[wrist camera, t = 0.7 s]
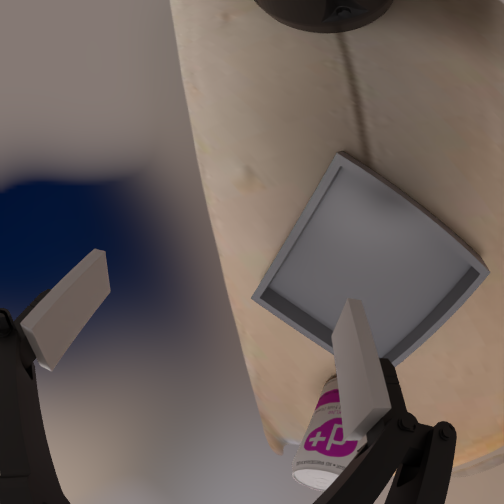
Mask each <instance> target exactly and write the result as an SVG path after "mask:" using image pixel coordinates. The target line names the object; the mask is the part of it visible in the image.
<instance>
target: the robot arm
mask: <svg viewBox="0 0 504 504" xmlns="http://www.w3.org/2000/svg"><path fill="white" fill-rule="evenodd" d="M254 1H255V2H256V3H257V4H258V5H259V6H260V7H261V8H262V9H263V10H264V11H266V12H267V13H268V14H269V15H270V16H272V17H273V18H274V19H276V20H278V21H279V22H281V23H283V24H285V25H287V26H290V27H293V28H296V29H299V30H303V31H309V32H318V33H335V32H343V31H349V30H353V29H356V28H360V27H362V26H365V25H367V24H369V23H371V22H373V21H374V20H376V19H378V18H379V17H380V16H381V15H383V14H384V13H385V12H386V11H387V10H388V8H389V7H390V6H391V4H392V2H393V0H254ZM109 293H110V285H109V278H108V271H107V264H106V254H105V251H101V250H97V249H94V250H93V251H92V252H91V253H89V254H88V255H87V256H86V257H85V258H84V259H83V260H82V261H81V262H80V263H79V264H77V265H76V266H75V267H74V268H73V269H72V270H71V271H70V272H69V273H68V274H67V275H66V276H65V277H64V278H63V279H62V280H61V281H60V282H59V283H58V284H57V285H56V286H55V287H54V288H53V289H52V290H50V289H47V290H46V291H44V292H42V293H40V294H39V295H38V296H37V298H35V300H34V301H33V302H32V303H31V304H30V306H28V307H27V308H26V309H25V310H24V311H23V312H22V313H21V314H20V315H19V316H18V317H17V319H16V320H15V321H14V322H13V319H12V317H11V314H10V312H9V311H8V310H7V309H4V308H0V504H70V502H69V501H68V499H67V498H66V497H65V496H64V494H63V492H62V490H61V487H60V484H59V481H58V478H57V475H56V472H55V469H54V465H53V462H52V458H51V455H50V451H49V447H48V443H47V440H46V435H45V430H44V425H43V420H42V415H41V410H40V404H39V397H38V390H37V382H36V373H35V366H34V363H33V361H34V360H35V359H36V358H37V360H38V362H39V364H40V366H42V367H44V368H46V369H48V370H50V371H52V370H53V369H54V367H55V366H56V364H57V363H58V362H59V360H60V359H61V357H62V356H63V354H64V353H65V351H66V350H67V349H68V347H69V346H70V344H71V343H72V342H73V340H74V339H75V337H76V336H77V335H78V333H79V332H80V331H81V329H82V328H83V327H84V325H85V324H86V323H87V321H88V320H89V319H90V317H91V316H92V315H93V313H94V312H95V311H96V309H97V308H98V307H99V306H100V304H101V303H102V302H103V300H104V299H105V298H106V297H107V295H108V294H109ZM331 338H332V344H333V351H334V358H335V365H336V373H337V381H338V389H339V397H340V406H341V416H342V426H343V437H344V441H352V440H361V439H362V438H363V437H364V436H365V435H366V437H367V442H366V443H365V444H364V445H363V446H362V447H361V448H360V449H359V450H357V452H358V453H357V454H356V456H355V457H354V458H353V459H352V461H351V462H350V463H349V464H348V466H347V467H346V468H345V469H344V470H343V471H342V473H341V474H340V475H339V476H338V477H337V478H336V480H335V481H334V482H333V483H332V484H331V485H330V486H329V487H328V488H327V489H326V490H325V492H324V493H323V494H322V495H321V496H320V497H319V498H318V499H317V500H316V501H315V502H314V503H313V504H373V503H374V502H375V500H376V499H377V498H378V496H379V495H380V493H381V492H382V490H383V489H384V488H385V486H386V485H387V483H388V482H389V480H390V478H391V477H392V476H393V474H394V472H395V471H396V474H395V476H394V479H393V482H392V485H391V488H390V491H389V493H388V496H387V498H386V501H385V504H444V503H445V499H446V495H447V491H448V486H449V482H450V477H451V472H452V466H453V460H454V453H455V446H456V438H457V436H456V431H455V428H454V427H453V426H452V425H451V424H450V423H448V422H445V421H441V422H438V423H437V424H436V425H435V426H434V427H432V426H428V425H424V424H420V423H418V421H417V419H416V417H414V416H413V415H412V414H411V413H409V412H407V410H406V406H405V402H404V398H403V395H402V391H401V388H400V385H399V381H398V378H397V374H396V371H395V367H394V366H393V364H392V363H391V362H390V360H389V359H388V358H379V357H378V353H377V350H376V346H375V343H374V340H373V336H372V333H371V330H370V327H369V323H368V320H367V317H366V314H365V311H364V308H363V305H362V302H361V300H357V299H351V298H347V301H346V303H345V306H344V308H343V310H342V313H341V315H340V317H339V320H338V322H337V324H336V327H335V329H334V331H333V333H332V336H331ZM396 469H397V470H396Z"/></svg>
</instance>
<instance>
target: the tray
mask: <svg viewBox="0 0 504 504" xmlns="http://www.w3.org/2000/svg"><path fill="white" fill-rule="evenodd" d="M489 274H490V271H489V269H488V268H487V266H486V264H485V263H484V261H483V260H482V258H481V257H480V256H479V255H478V254H477V253H476V252H475V251H474V250H473V249H472V248H471V247H470V246H468V245H467V244H466V243H465V242H464V241H463V240H462V239H461V238H460V237H458V236H457V235H456V234H455V233H454V232H453V231H452V230H450V229H449V228H448V227H447V226H446V225H445V224H443V223H442V222H441V221H440V220H439V219H437V218H436V217H435V216H434V215H433V214H431V213H430V212H429V211H428V210H426V209H425V208H424V207H422V206H421V205H420V204H419V203H417V202H416V201H415V200H413V199H412V198H411V197H409V196H408V195H407V194H405V193H404V192H403V191H401V190H400V189H399V188H397V187H396V186H394V185H393V184H392V183H390V182H389V181H387V180H386V179H385V178H383V177H382V176H380V175H379V174H377V173H376V172H374V171H373V170H371V169H370V168H368V167H367V166H365V165H364V164H362V163H361V162H359V161H358V160H356V159H354V158H353V157H351V156H350V155H348V154H347V153H345V152H343V151H341V152H338V153H336V155H335V157H334V159H333V160H332V162H331V164H330V166H329V167H328V169H327V171H326V173H325V174H324V176H323V178H322V180H321V181H320V183H319V185H318V187H317V188H316V190H315V192H314V193H313V195H312V197H311V199H310V200H309V202H308V204H307V205H306V207H305V209H304V211H303V212H302V214H301V216H300V217H299V219H298V221H297V222H296V224H295V226H294V228H293V229H292V231H291V233H290V234H289V236H288V238H287V239H286V241H285V243H284V244H283V246H282V248H281V249H280V251H279V253H278V254H277V256H276V258H275V259H274V261H273V263H272V264H271V266H270V268H269V269H268V271H267V273H266V274H265V276H264V278H263V279H262V281H261V283H260V284H259V286H258V288H257V289H256V291H255V292H254V294H253V296H252V297H251V299H252V300H254V301H255V302H257V303H258V304H259V305H261V306H262V307H264V308H265V309H267V310H268V311H269V312H271V313H272V314H274V315H275V316H277V317H278V318H280V319H281V320H282V321H284V322H285V323H287V324H288V325H290V326H291V327H293V328H294V329H296V330H297V331H299V332H300V333H302V334H303V335H304V336H306V337H307V338H309V339H310V340H312V341H313V342H315V343H316V344H318V345H319V346H321V347H322V348H324V349H325V350H327V351H329V352H330V353H332V354H333V355H334V351H333V344H332V338H331V336H332V333H333V331H334V329H335V327H336V324H337V322H338V320H339V317H340V315H341V313H342V310H343V308H344V306H345V303H346V301H347V298H351V299H357V300H361V302H362V305H363V308H364V311H365V314H366V317H367V320H368V323H369V327H370V330H371V333H372V336H373V340H374V343H375V346H376V350H377V353H378V357H379V358H388V359H389V360H390V362H391V363H392V364H393V366H394V367H396V366H397V365H398V364H400V363H401V362H402V361H403V360H404V359H406V358H407V357H408V356H409V355H410V354H412V353H413V352H414V351H415V350H416V349H417V348H418V347H420V346H421V345H422V344H423V343H424V342H425V341H426V340H427V339H428V338H429V337H431V336H432V335H433V334H434V333H435V332H436V331H437V330H438V329H439V328H440V327H441V326H442V325H443V324H444V323H445V322H446V321H447V320H448V319H449V318H450V317H451V316H452V315H453V314H454V313H455V312H456V311H457V310H458V309H459V308H460V307H461V306H462V305H463V304H464V302H465V301H466V300H467V299H468V298H469V297H470V296H471V295H472V294H473V292H474V291H475V290H476V289H477V288H478V287H479V286H480V284H481V283H482V282H483V281H484V280H485V278H486V277H487V276H488V275H489Z"/></svg>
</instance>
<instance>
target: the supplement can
mask: <svg viewBox="0 0 504 504" xmlns="http://www.w3.org/2000/svg"><path fill="white" fill-rule="evenodd" d="M366 442H367V437H366V435H365V436H364V437H363V438H362V439H361V440H352V441H344V437H343V426H342V416H341V406H340V397H339V389H338V381H337V377H336V378H333V379H331V380H329V381H328V382H327V383H326V384H325V385H324V388H323V391H322V393H321V396H320V399H319V401H318V404H317V406H316V409H315V411H314V414H313V416H312V419H311V421H310V424H309V426H308V428H307V431H306V433H305V435H304V438H303V440H302V442H301V445H300V447H299V449H298V451H297V454H296V456H295V458H294V460H293V462H292V469H293V475H292V476H293V478H294V480H296V481H297V482H298V483H300V484H301V485H304V486H305V487H308V488H311V489H314V490H319V491H324V492H325V490H326V489H327V488H328V487H329V486H330V485H331V484H332V483H333V482H334V481H335V480H336V478H337V477H338V476H339V475H340V474H341V473H342V471H343V470H344V469H345V468H346V467H347V466H348V464H349V463H350V462H351V461H352V459H353V458H354V457H355V456H356V454H357V453H358V452H357V450H359V449H360V448H361V447H362V446H363V445H364V444H365V443H366Z"/></svg>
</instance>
